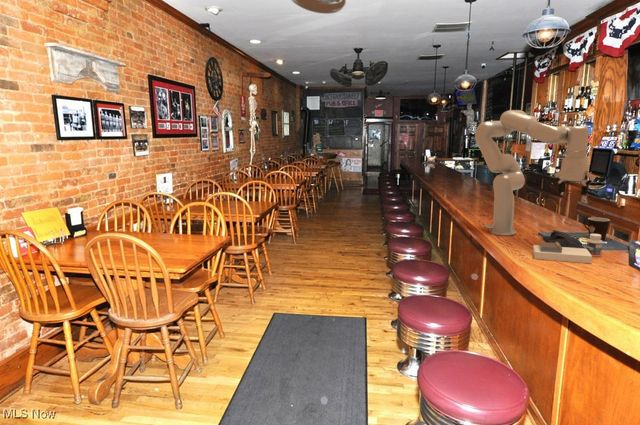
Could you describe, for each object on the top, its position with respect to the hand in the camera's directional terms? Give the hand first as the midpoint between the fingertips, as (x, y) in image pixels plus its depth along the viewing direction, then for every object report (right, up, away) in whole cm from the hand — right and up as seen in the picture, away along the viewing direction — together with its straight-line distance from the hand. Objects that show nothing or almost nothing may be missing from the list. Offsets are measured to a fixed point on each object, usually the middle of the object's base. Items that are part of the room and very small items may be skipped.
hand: (572, 193), depth 175 cm
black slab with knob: (+2, -24, +9) cm, 26 cm away
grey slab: (-15, -24, -9) cm, 30 cm away
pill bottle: (+4, -27, -8) cm, 28 cm away
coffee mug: (+21, -21, +15) cm, 34 cm away
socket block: (-11, -27, -10) cm, 31 cm away
